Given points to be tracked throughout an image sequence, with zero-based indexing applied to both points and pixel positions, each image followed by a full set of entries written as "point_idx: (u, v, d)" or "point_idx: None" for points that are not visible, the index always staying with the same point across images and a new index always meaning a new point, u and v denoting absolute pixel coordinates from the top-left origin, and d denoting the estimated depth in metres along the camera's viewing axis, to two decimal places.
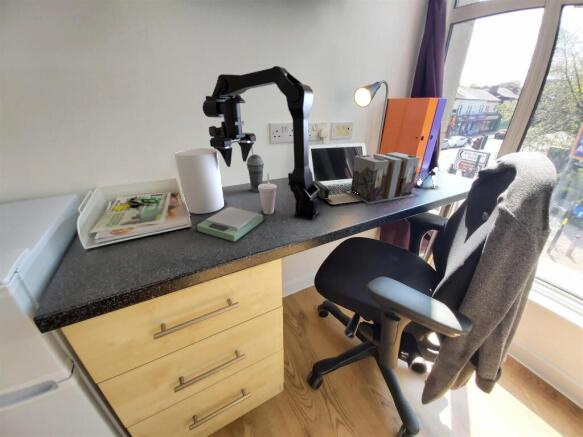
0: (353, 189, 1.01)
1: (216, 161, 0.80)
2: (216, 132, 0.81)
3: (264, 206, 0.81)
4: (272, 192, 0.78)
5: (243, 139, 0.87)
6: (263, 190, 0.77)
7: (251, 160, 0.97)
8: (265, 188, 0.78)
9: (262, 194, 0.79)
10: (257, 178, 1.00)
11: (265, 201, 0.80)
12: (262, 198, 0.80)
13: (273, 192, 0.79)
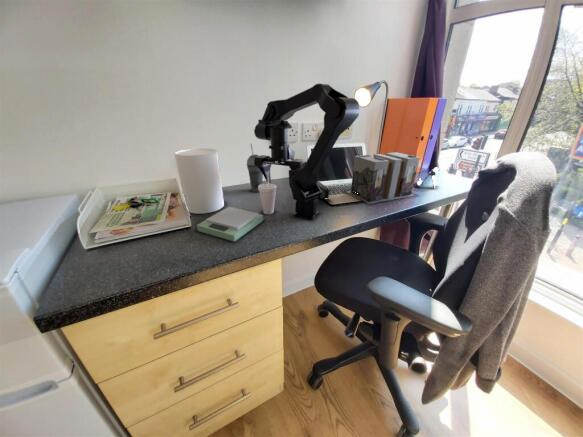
0: (353, 189, 1.01)
1: (216, 161, 0.80)
2: None
3: (264, 206, 0.81)
4: (272, 192, 0.78)
5: None
6: (263, 190, 0.77)
7: (251, 160, 0.97)
8: (265, 188, 0.78)
9: (262, 194, 0.79)
10: (257, 178, 1.00)
11: (265, 201, 0.80)
12: (262, 198, 0.80)
13: (273, 192, 0.79)
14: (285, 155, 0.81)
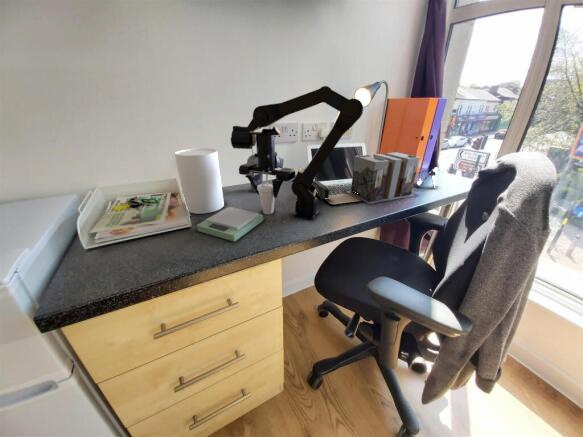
0: (353, 189, 1.01)
1: (216, 161, 0.80)
2: None
3: (264, 206, 0.81)
4: (271, 192, 0.78)
5: None
6: (262, 190, 0.77)
7: (251, 160, 0.97)
8: (264, 188, 0.78)
9: (261, 194, 0.78)
10: None
11: (264, 201, 0.79)
12: (261, 198, 0.79)
13: (272, 192, 0.79)
14: (272, 164, 0.75)
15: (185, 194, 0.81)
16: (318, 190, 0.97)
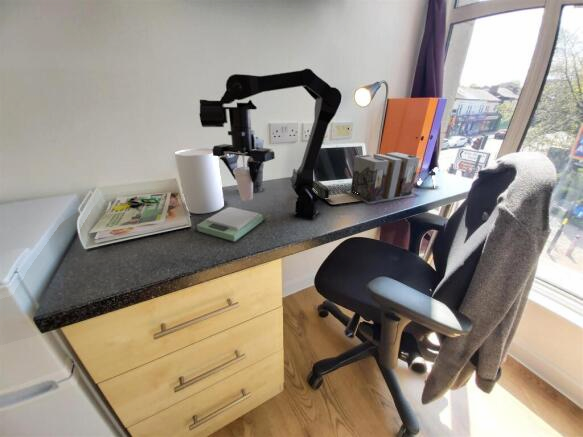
0: (353, 189, 1.01)
1: (216, 161, 0.80)
2: None
3: (241, 192, 0.73)
4: (248, 175, 0.70)
5: None
6: (238, 173, 0.69)
7: None
8: (240, 171, 0.69)
9: (237, 178, 0.70)
10: (257, 178, 1.00)
11: (241, 186, 0.71)
12: (238, 183, 0.71)
13: (250, 176, 0.70)
14: (248, 143, 0.66)
15: (185, 194, 0.81)
16: (318, 190, 0.97)
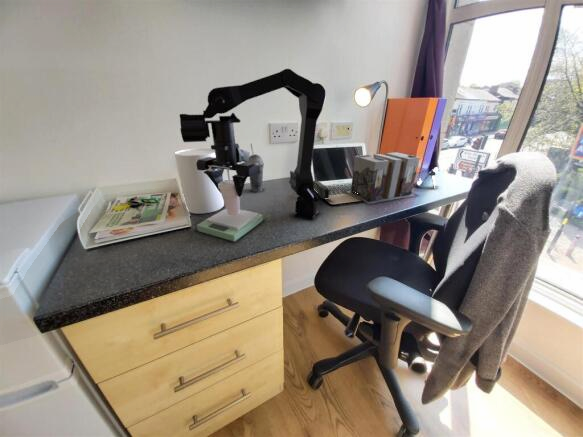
0: (353, 189, 1.01)
1: None
2: None
3: (227, 206, 0.71)
4: (234, 190, 0.68)
5: None
6: (223, 188, 0.67)
7: (251, 160, 0.97)
8: (225, 185, 0.67)
9: (223, 192, 0.68)
10: (257, 178, 1.00)
11: (227, 200, 0.69)
12: (223, 197, 0.69)
13: (235, 190, 0.68)
14: (232, 157, 0.64)
15: (185, 194, 0.81)
16: (318, 190, 0.97)
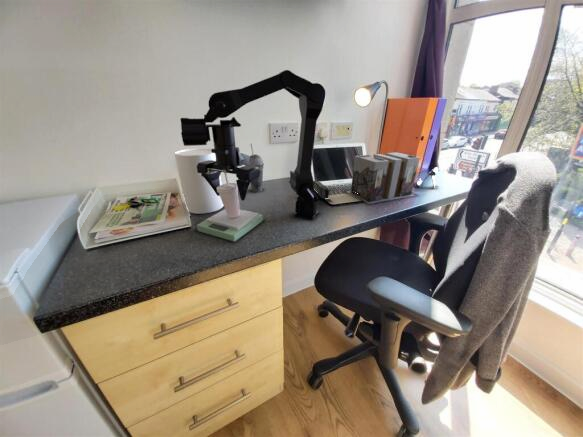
0: (353, 189, 1.01)
1: None
2: None
3: (227, 209, 0.71)
4: (232, 192, 0.69)
5: None
6: (221, 191, 0.68)
7: (251, 160, 0.97)
8: (223, 188, 0.68)
9: (221, 196, 0.69)
10: (257, 178, 1.00)
11: (226, 203, 0.70)
12: (223, 200, 0.70)
13: (234, 192, 0.69)
14: (232, 161, 0.65)
15: (185, 194, 0.81)
16: (318, 190, 0.97)
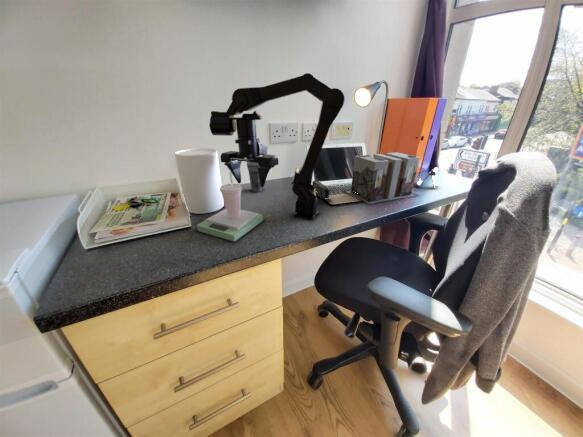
0: (353, 189, 1.01)
1: (216, 161, 0.80)
2: None
3: (228, 210, 0.71)
4: (236, 194, 0.69)
5: None
6: (225, 191, 0.68)
7: None
8: (227, 189, 0.68)
9: (224, 196, 0.69)
10: (257, 178, 1.00)
11: (228, 204, 0.70)
12: (225, 200, 0.70)
13: (237, 194, 0.69)
14: (254, 150, 0.72)
15: (185, 194, 0.81)
16: (318, 190, 0.97)
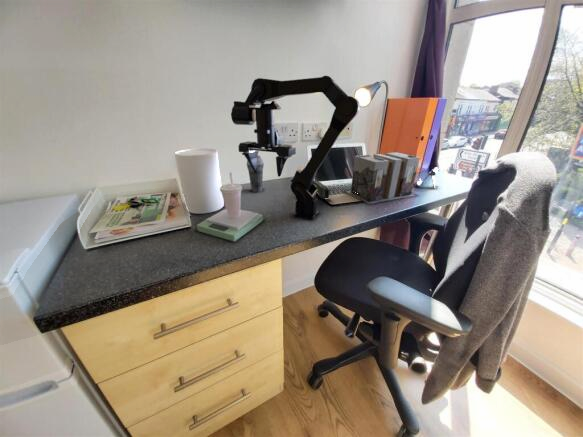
0: (353, 189, 1.01)
1: (216, 161, 0.80)
2: None
3: (228, 210, 0.71)
4: (236, 194, 0.69)
5: None
6: (225, 191, 0.68)
7: None
8: (227, 189, 0.68)
9: (224, 196, 0.69)
10: (257, 178, 1.00)
11: (228, 204, 0.70)
12: (225, 200, 0.70)
13: (237, 194, 0.69)
14: (272, 140, 0.74)
15: (185, 194, 0.81)
16: (318, 190, 0.97)
